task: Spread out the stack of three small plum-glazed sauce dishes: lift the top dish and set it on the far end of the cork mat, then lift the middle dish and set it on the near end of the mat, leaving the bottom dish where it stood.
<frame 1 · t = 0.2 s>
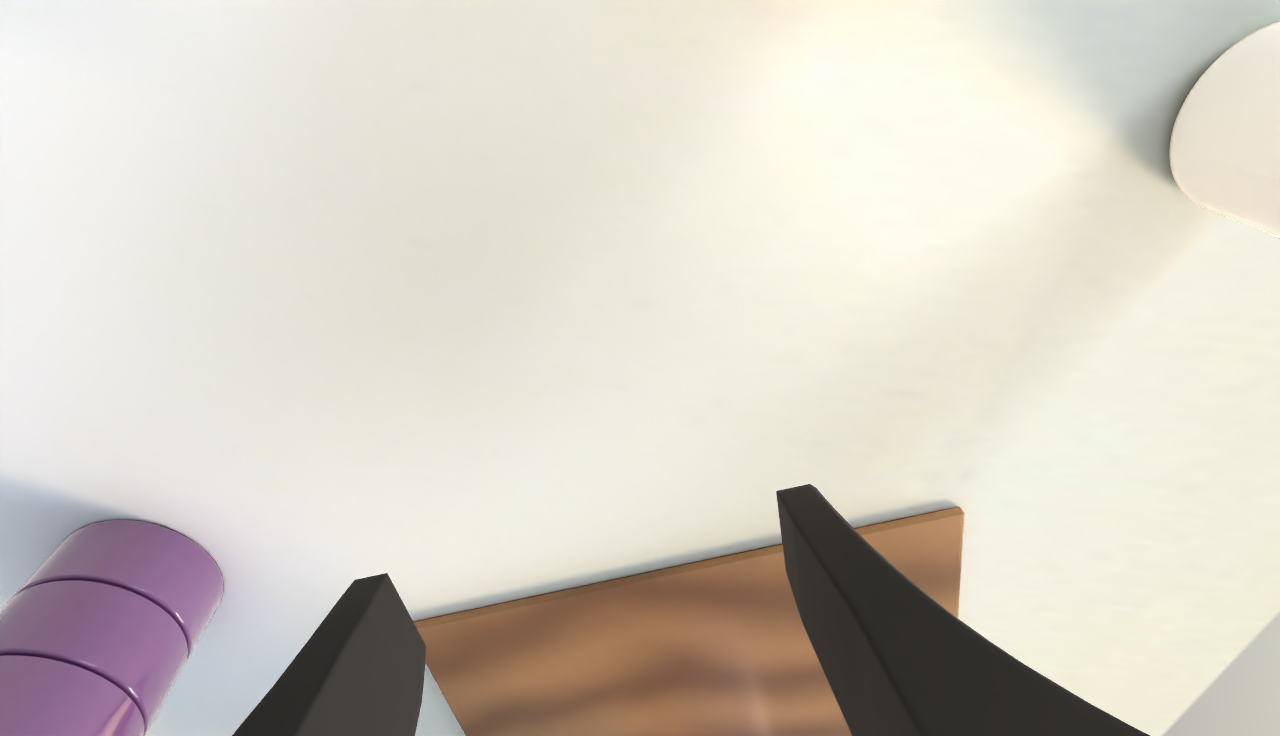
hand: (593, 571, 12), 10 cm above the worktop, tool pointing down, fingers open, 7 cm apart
dish top: (41, 716, 20), point 5 cm above the worktop, touching dish middle
drinking glass: (1243, 115, 20), on the worktop
dish middle: (97, 638, 22), point 3 cm above the worktop, touching dish bottom, dish top
dish bottom: (143, 576, 24), on the worktop, touching dish middle
mat: (708, 675, 30), on the worktop
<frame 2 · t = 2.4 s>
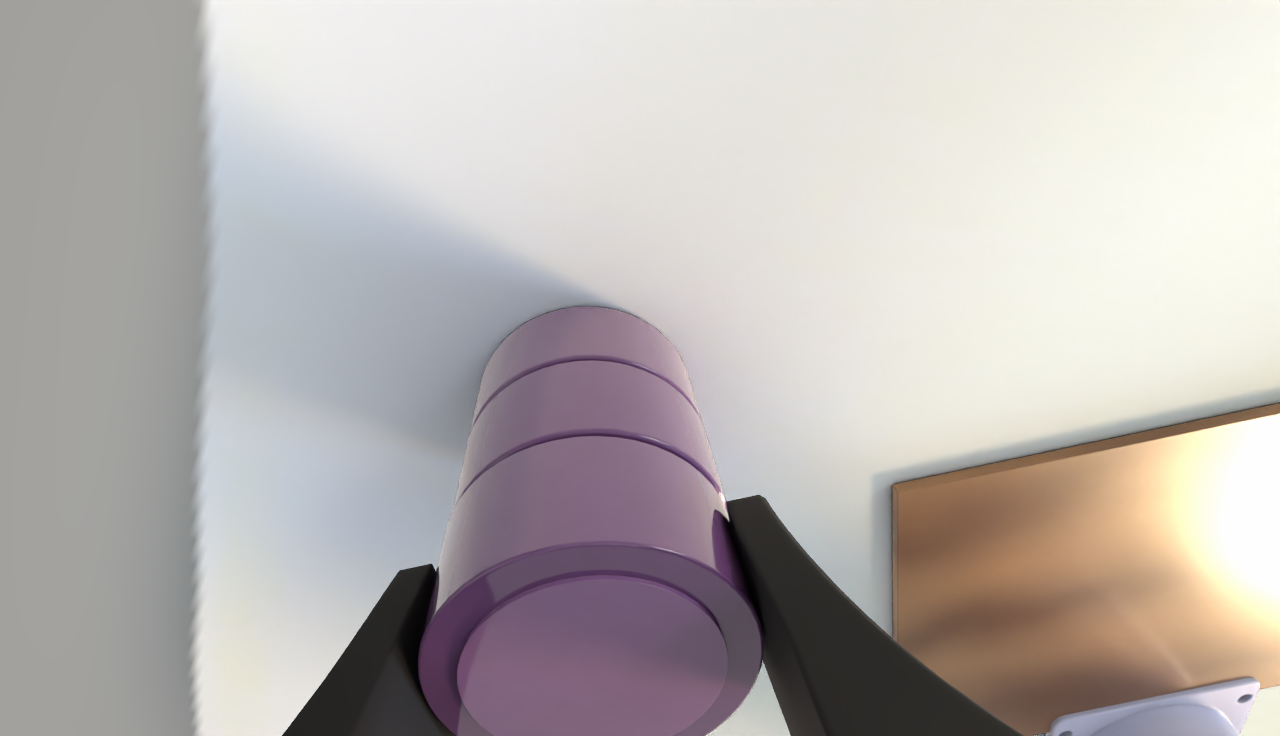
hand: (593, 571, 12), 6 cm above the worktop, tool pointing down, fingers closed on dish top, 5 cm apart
dish top: (590, 551, 13), point 5 cm above the worktop, touching dish middle, gripper
dish middle: (589, 464, 15), point 3 cm above the worktop, touching dish bottom, dish top
dish bottom: (586, 400, 18), on the worktop, touching dish middle
mat: (1208, 573, 23), on the worktop
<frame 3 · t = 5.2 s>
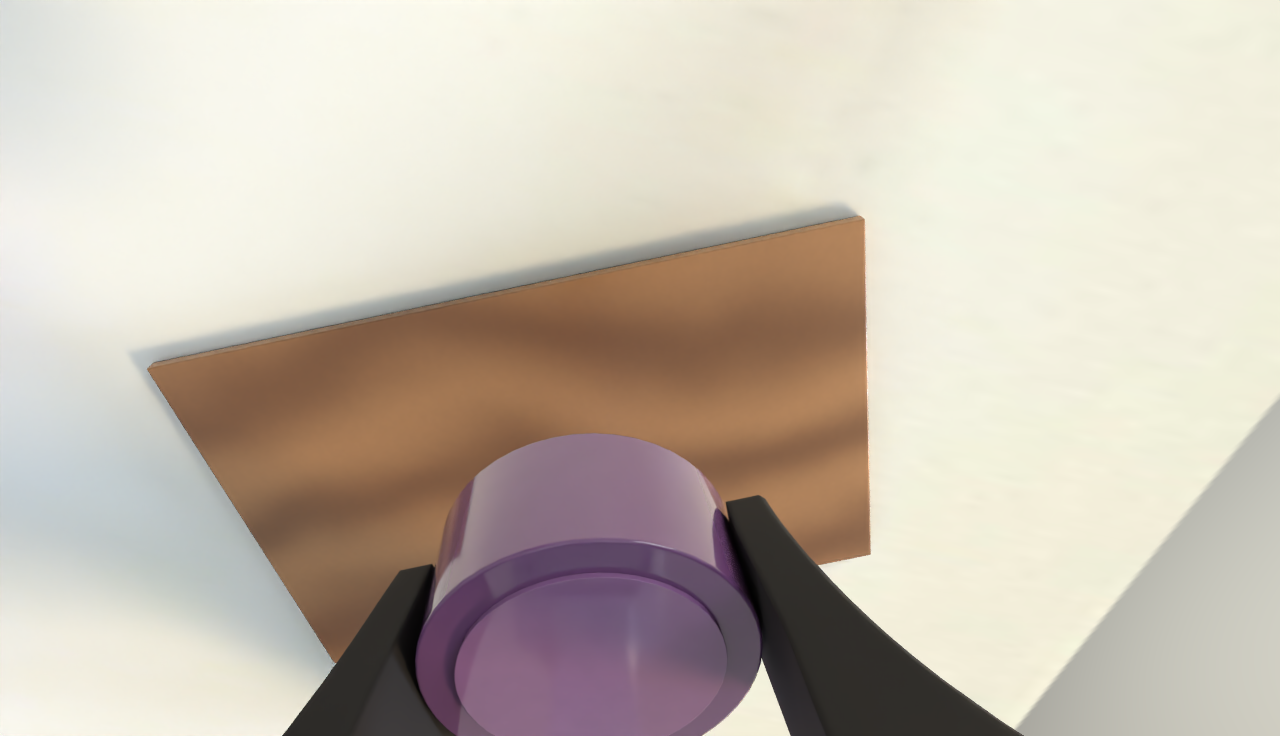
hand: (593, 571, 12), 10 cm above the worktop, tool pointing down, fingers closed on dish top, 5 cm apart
dish top: (588, 549, 13), point 10 cm above the worktop, touching gripper
mat: (559, 468, 24), on the worktop
when the fingers open (1 cm above the worktop, at t = 8.4 s): dish top stays where it is, resting on mat.
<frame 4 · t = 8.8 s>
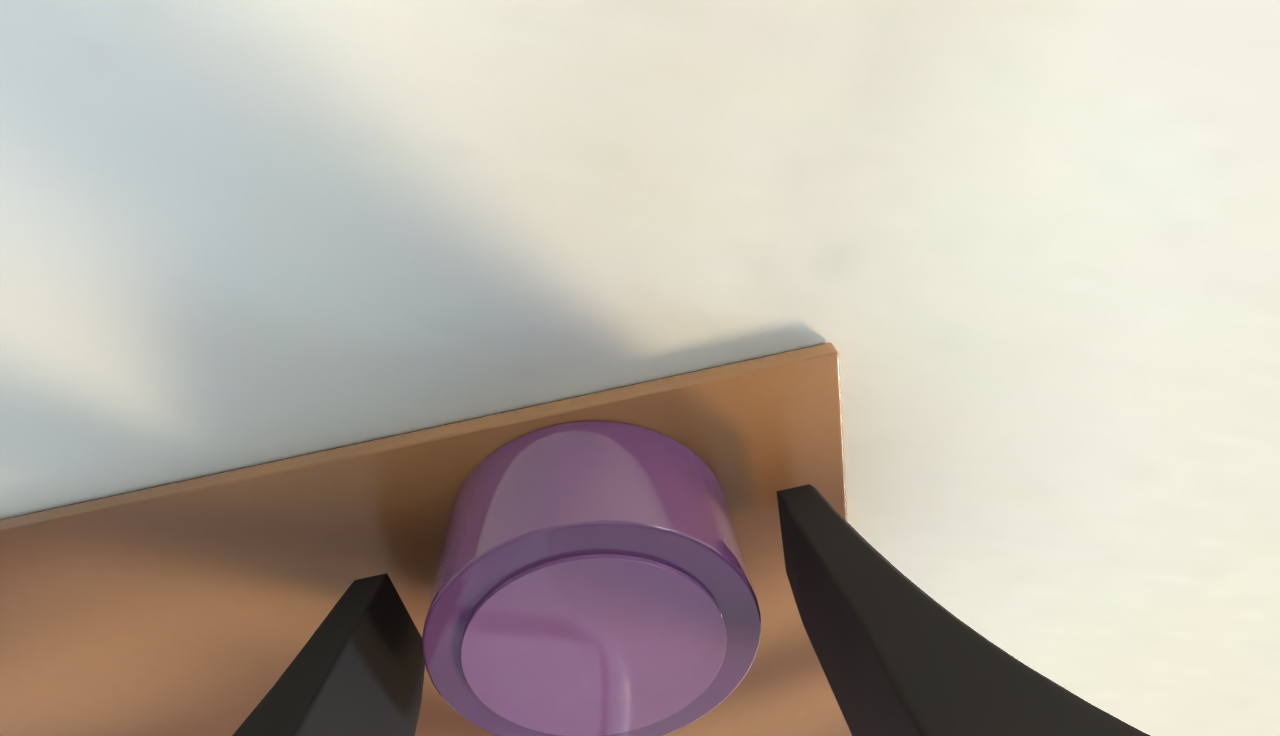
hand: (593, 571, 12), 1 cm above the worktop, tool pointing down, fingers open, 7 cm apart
dish top: (591, 536, 13), resting on mat
mat: (375, 706, 16), on the worktop
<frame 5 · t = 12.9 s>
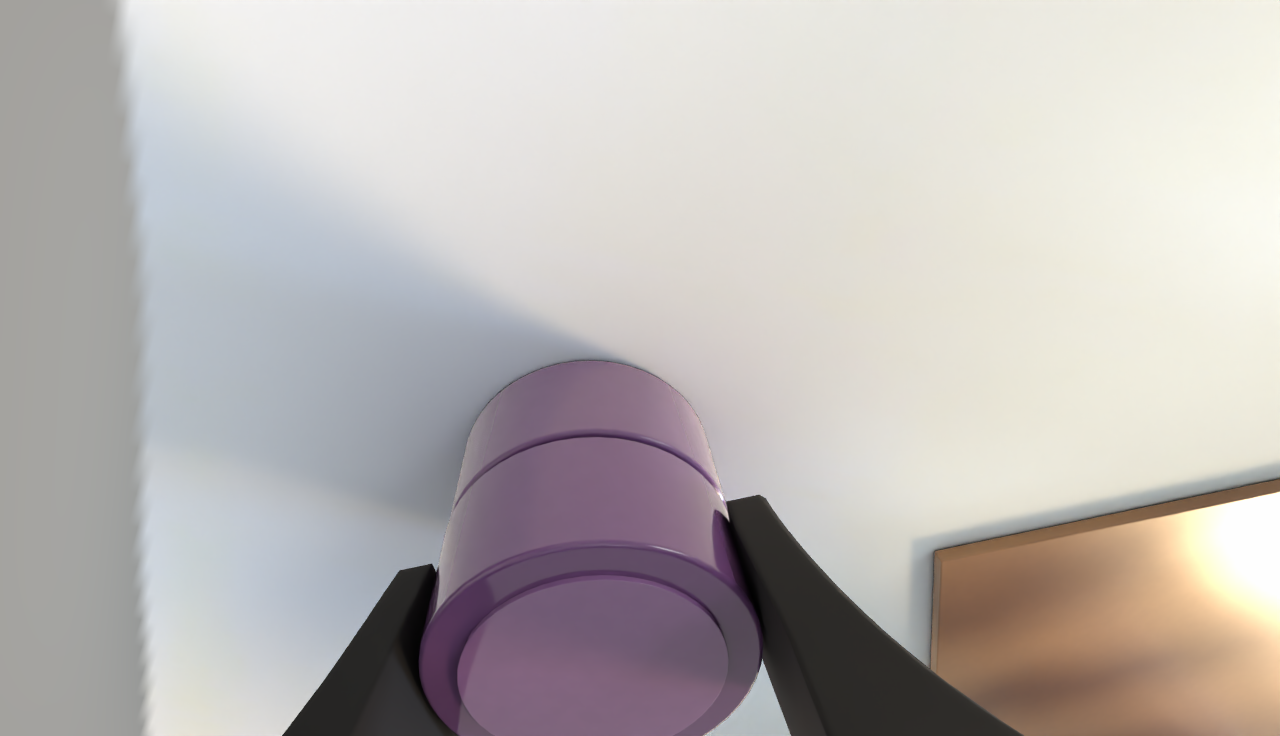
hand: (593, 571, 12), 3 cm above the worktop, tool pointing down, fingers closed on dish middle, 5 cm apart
dish middle: (590, 551, 13), point 3 cm above the worktop, touching dish bottom, gripper
dish bottom: (588, 464, 15), on the worktop, touching dish middle
mat: (1279, 639, 21), on the worktop
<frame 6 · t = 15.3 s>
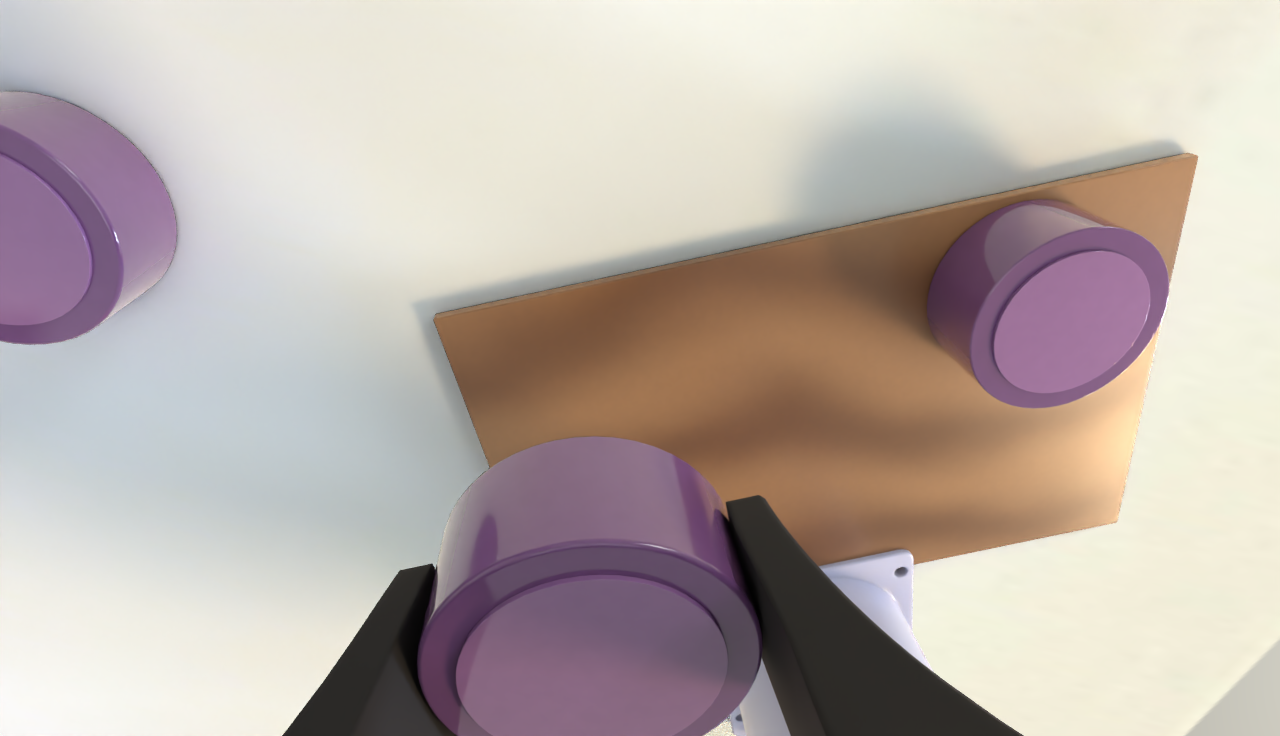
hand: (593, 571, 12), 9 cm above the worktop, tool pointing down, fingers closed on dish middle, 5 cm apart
dish top: (1013, 287, 20), resting on mat
dish middle: (589, 551, 13), point 9 cm above the worktop, touching gripper
dish bottom: (61, 204, 17), on the worktop
mat: (821, 429, 23), on the worktop
when the fingers open (1 cm above the worktop, at t = 18.0 s): dish middle stays where it is, resting on mat.
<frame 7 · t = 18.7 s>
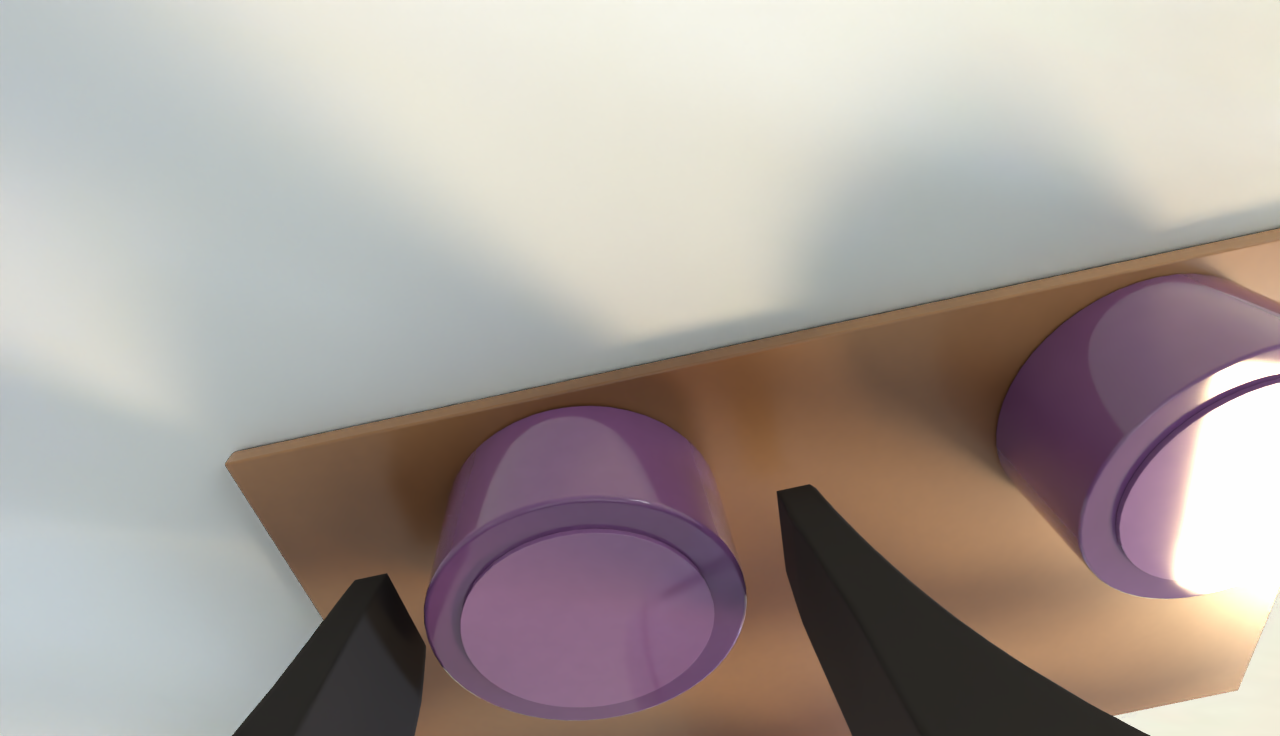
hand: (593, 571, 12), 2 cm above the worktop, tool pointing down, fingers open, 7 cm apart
dish top: (1129, 400, 13), resting on mat
dish middle: (585, 517, 14), resting on mat
mat: (834, 588, 16), on the worktop
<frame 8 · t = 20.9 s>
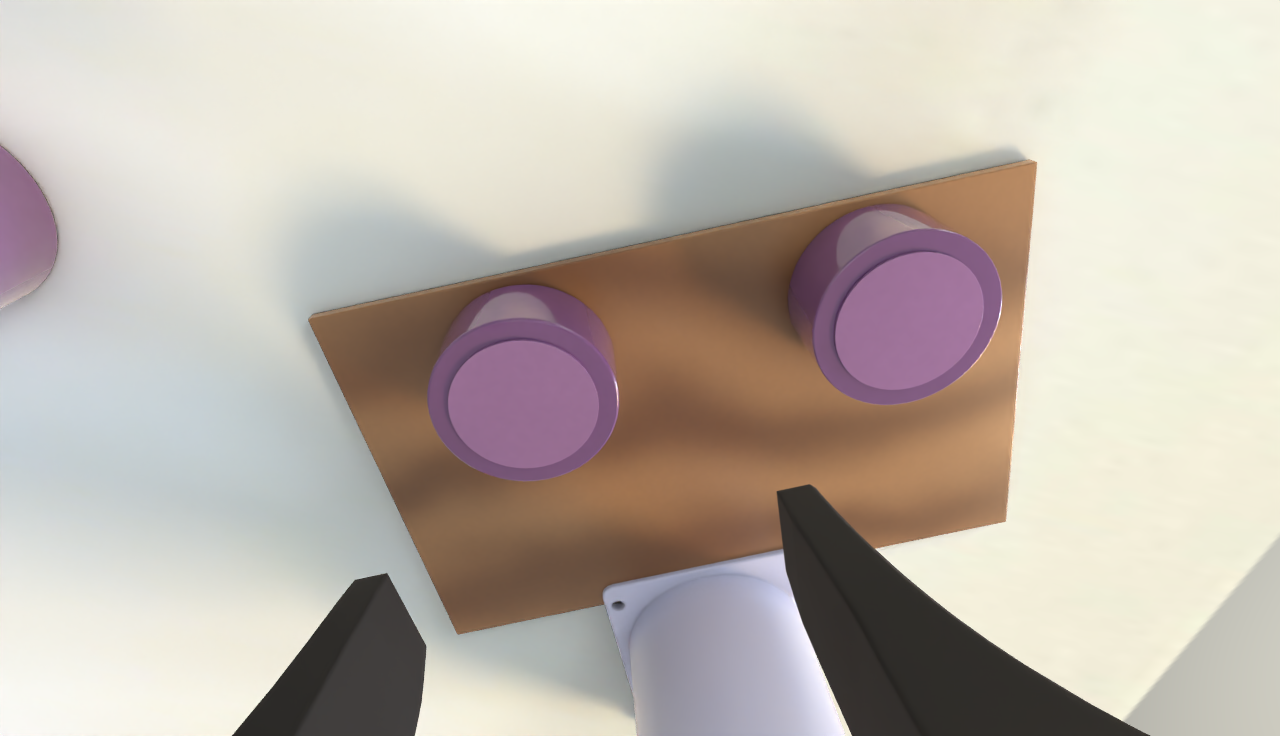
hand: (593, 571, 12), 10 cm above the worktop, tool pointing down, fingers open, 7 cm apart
dish top: (872, 289, 21), resting on mat
dish middle: (529, 363, 21), resting on mat
mat: (701, 427, 24), on the worktop
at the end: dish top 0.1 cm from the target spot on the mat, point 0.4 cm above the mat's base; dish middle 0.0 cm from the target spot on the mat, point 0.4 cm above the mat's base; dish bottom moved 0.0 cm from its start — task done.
